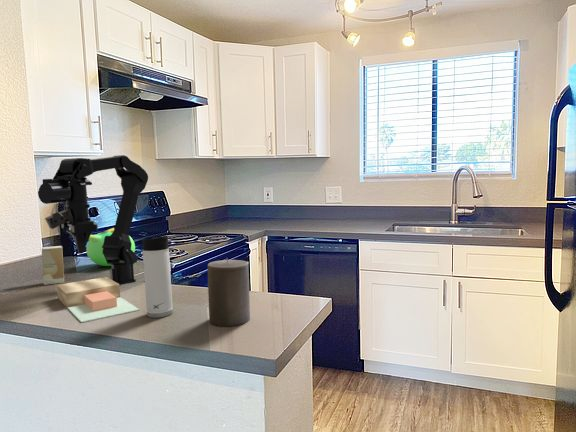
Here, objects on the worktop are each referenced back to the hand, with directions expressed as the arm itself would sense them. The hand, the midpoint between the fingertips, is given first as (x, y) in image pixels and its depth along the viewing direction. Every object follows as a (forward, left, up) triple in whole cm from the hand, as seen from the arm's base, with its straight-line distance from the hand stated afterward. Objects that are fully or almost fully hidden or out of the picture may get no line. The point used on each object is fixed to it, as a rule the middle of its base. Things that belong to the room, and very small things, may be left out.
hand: (81, 253), depth 132 cm
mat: (0, +20, -12) cm, 24 cm away
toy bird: (-19, -39, -13) cm, 45 cm away
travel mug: (-10, +35, -13) cm, 39 cm away
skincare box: (+4, -24, -13) cm, 27 cm away
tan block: (0, +5, -12) cm, 14 cm away
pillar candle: (-21, +51, -13) cm, 57 cm away
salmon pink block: (0, +17, -11) cm, 20 cm away
